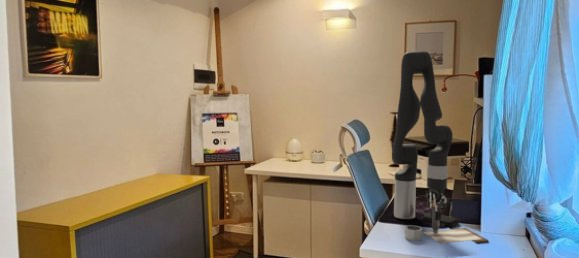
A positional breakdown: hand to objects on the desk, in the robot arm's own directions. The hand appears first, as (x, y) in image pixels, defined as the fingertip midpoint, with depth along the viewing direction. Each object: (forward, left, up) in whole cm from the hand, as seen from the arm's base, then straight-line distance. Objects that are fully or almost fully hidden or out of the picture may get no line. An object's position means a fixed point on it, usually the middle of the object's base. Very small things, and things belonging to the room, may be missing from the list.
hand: (435, 218), depth 183 cm
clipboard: (+4, +5, -7) cm, 9 cm away
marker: (0, 0, -5) cm, 5 cm away
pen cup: (+3, -11, -7) cm, 13 cm away
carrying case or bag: (-14, +10, -8) cm, 19 cm away
